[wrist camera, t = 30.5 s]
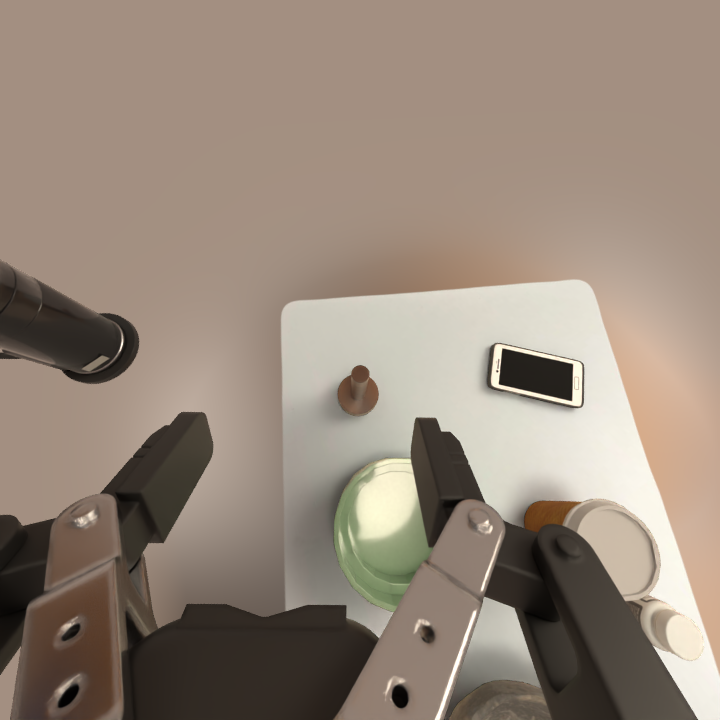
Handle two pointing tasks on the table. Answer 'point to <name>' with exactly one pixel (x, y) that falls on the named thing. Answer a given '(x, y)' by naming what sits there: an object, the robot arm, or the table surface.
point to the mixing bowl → (381, 531)
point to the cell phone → (536, 375)
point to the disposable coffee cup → (607, 540)
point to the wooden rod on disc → (358, 392)
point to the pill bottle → (668, 628)
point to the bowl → (503, 703)
